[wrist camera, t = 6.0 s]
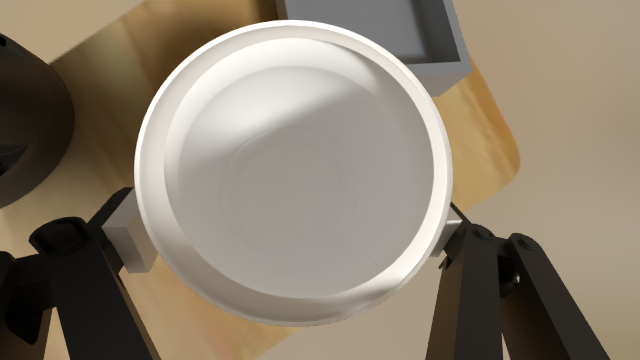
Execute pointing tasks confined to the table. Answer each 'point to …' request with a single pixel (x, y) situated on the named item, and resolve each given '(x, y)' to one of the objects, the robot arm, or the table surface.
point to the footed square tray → (398, 33)
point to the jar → (293, 173)
